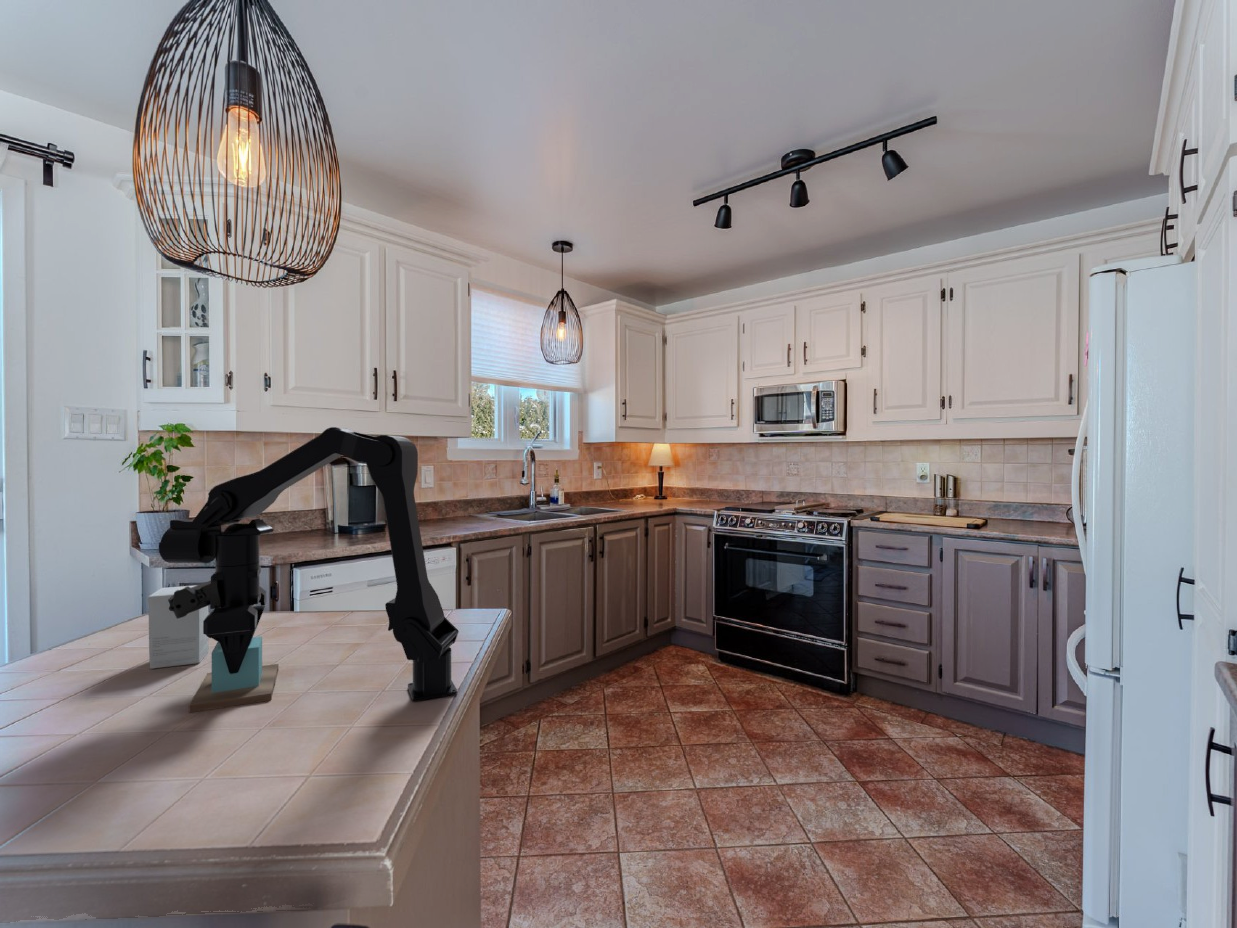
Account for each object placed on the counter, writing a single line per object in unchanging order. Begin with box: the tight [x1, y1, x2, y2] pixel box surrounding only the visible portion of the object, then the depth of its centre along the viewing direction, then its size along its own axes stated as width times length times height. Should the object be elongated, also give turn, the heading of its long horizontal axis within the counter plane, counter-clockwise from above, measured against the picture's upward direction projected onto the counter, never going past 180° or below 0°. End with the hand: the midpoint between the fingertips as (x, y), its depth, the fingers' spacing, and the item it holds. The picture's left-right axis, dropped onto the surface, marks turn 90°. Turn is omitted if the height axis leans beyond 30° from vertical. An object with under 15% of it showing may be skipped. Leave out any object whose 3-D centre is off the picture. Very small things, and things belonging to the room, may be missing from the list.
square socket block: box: [211, 636, 263, 693], centre depth 91 cm, size 6×6×6 cm
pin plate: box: [188, 663, 279, 713], centre depth 91 cm, size 14×10×5 cm
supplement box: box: [147, 585, 210, 670], centre depth 104 cm, size 7×7×13 cm
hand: (238, 663), depth 91 cm, fingers open, 9 cm apart
